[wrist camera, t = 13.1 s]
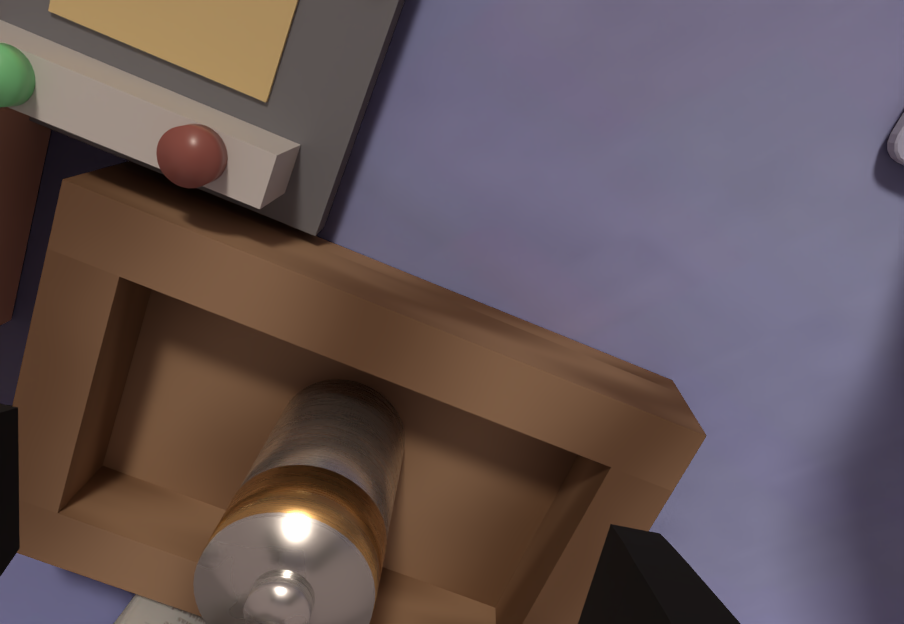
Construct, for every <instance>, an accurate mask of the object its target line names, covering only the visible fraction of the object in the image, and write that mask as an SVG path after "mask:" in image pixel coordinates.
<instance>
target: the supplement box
mask: <svg viewBox="0 0 904 624" xmlns="http://www.w3.org/2000/svg"><path fill="white" fill-rule="evenodd" d="M114 624H206V622H205V621H204V619H203V617H201V616H198V615H195V614H192V613H190V612H187V611H184V610H181V609H178V608H175V607H172V606H169V605H166V604H164V603H161V602H158V601H155V600H152V599H149V598H146V597H143V596H140V595H138V594H136V595H135V596H134V597H133V599H132V600H131V601H130V603H129V604H128V605H127V607H126V608H125V609H124V611H123V612H122V613H121V615H120V616H119V617H118V619H117V620H116V621H115V623H114Z"/></svg>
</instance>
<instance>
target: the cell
mask: <svg viewBox="0 0 904 624" xmlns="http://www.w3.org/2000/svg"><path fill="white" fill-rule="evenodd" d="M404 449H405V430H404V426H403V423H402V420H401V418H400V416H399V414H398V412H397V410H396V409H395V408H394V406H393V405H392V404H391V403H390V402H389V400H388V399H387V398H386V397H384V396H383V395H382V394H381V393H379V392H378V391H376V390H374V389H373V388H371V387H369V386H367V385H364V384H362V383H358V382H355V381H350V380H341V379H335V380H326V381H321V382H317V383H314V384H312V385H310V386H308V387H306V388H304V389H303V390H301V391H300V392H298V393H297V394H296V395H295V396H294V397H293V398H292V399H291V400H290V401H289V403H288V404H287V406H286V407H285V409H284V411H283V413H282V414H281V416H280V418H279V420H278V421H277V423H276V425H275V427H274V428H273V430H272V432H271V434H270V435H269V437H268V439H267V441H266V442H265V444H264V446H263V448H262V449H261V451H260V453H259V455H258V457H257V458H256V460H255V462H254V464H253V465H252V467H251V469H250V471H249V472H248V474H247V476H246V478H245V479H244V481H243V483H242V485H241V486H240V488H239V490H238V491H237V493H236V494H235V496H234V497H233V499H232V500H231V502H230V504H229V506H228V507H227V509H226V511H225V513H224V514H223V516H222V518H221V520H220V521H219V523H218V525H217V527H216V528H215V530H214V532H213V534H212V535H211V537H210V539H209V541H208V542H207V544H206V546H205V548H204V549H203V552H202V554H201V556H200V559H199V561H198V563H197V566H196V570H195V573H194V582H193V586H194V596H195V600H196V604H197V607H198V609H199V612H200V614H201V616H202V617H203V619H204V621H205V622H206V624H369V623H370V620H371V617H372V614H373V611H374V608H375V603H376V598H377V593H378V588H379V582H380V577H381V572H382V567H383V562H384V556H385V551H386V544H387V536H388V531H389V526H390V521H391V516H392V510H393V505H394V500H395V495H396V490H397V485H398V480H399V475H400V470H401V464H402V459H403V454H404Z"/></svg>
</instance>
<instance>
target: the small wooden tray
mask: <svg viewBox="0 0 904 624" xmlns="http://www.w3.org/2000/svg"><path fill="white" fill-rule="evenodd" d="M29 118H30V116H28V115H26V114H23V113H21V112H18V111H16V110H13V109H11V108H8V107H0V325H2V324H4V323H6V322H8V321H10V320H11V318H12V313H13V309H14V304H15V299H16V294H17V290H18V285H19V280H20V275H21V271H22V266H23V261H24V256H25V252H26V247H27V242H28V237H29V233H30V228H31V223H32V218H33V214H34V209H35V204H36V199H37V195H38V190H39V185H40V180H41V176H42V171H43V166H44V161H45V157H46V152H47V147H48V142H49V138H50V133H51V129H49V128H47V127H44V126H42V125H39V124H37V123H35V122H32V121H30V120H29Z"/></svg>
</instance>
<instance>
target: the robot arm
mask: <svg viewBox="0 0 904 624" xmlns="http://www.w3.org/2000/svg"><path fill="white" fill-rule="evenodd" d="M887 151H888V153H889V155H890V157H891V158H892V159H893V160H895V161H896V162H898V163H900V164H902V165H904V112H903V114H902V116H901V117H900V119H899V121H898V122H897V124H896V126H895V127H894V129H893V131H892V132H891V134H890V137H889V139H888V142H887ZM19 548H20V536H19V442H18V407H14V406H9V405H4V404H0V576H1V574H2V573H3V572H4V570H5V569H6V567H7V566H8V564H9V563H10V561H11V560H12V559H13V557H14V556H15V554H16V553H17V551H18V550H19ZM578 624H740V623H739V621H738V620H737V619H736V618H735V617H734V616H733V615H732V613H731V612H730V611H729V610H728V609H727V608H726V607H725V605H724V604H723V603H722V602H721V601H720V600H719V599H718V597H717V596H716V595H715V594H714V593H713V592H712V591H711V589H710V588H709V587H708V586H707V585H706V584H705V582H704V581H703V580H702V579H701V578H700V577H699V576H698V574H697V573H696V572H695V571H694V570H693V569H692V568H691V567H690V565H689V564H688V563H687V562H686V561H685V560H684V559H683V558H682V556H681V555H680V554H679V553H678V552H677V551H676V550H675V549H674V548H673V547H672V545H671V544H670V543H669V542H668V541H667V540H666V539H665V538H664V537H663V536H662V535H661V534H659V533H654V532H649V531H644V530H639V529H634V528H629V527H624V526H619V525H614V524H610V528H609V531H608V534H607V537H606V540H605V543H604V546H603V549H602V552H601V555H600V558H599V561H598V564H597V567H596V570H595V573H594V576H593V579H592V582H591V585H590V588H589V591H588V594H587V598H586V601H585V604H584V607H583V610H582V613H581V616H580V619H579V622H578Z"/></svg>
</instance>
